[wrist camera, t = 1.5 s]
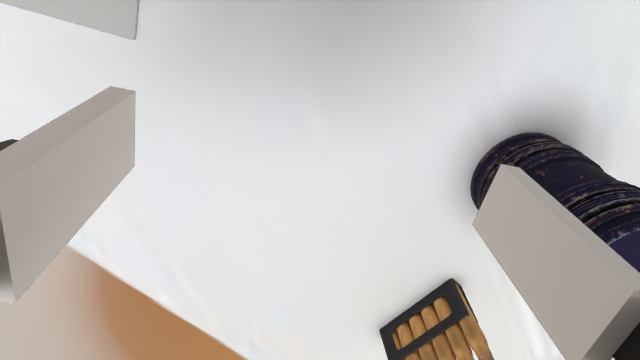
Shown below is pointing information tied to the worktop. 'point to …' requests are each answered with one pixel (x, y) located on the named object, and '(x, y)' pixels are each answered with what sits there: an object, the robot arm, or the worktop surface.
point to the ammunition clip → (436, 329)
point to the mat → (89, 13)
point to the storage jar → (570, 188)
